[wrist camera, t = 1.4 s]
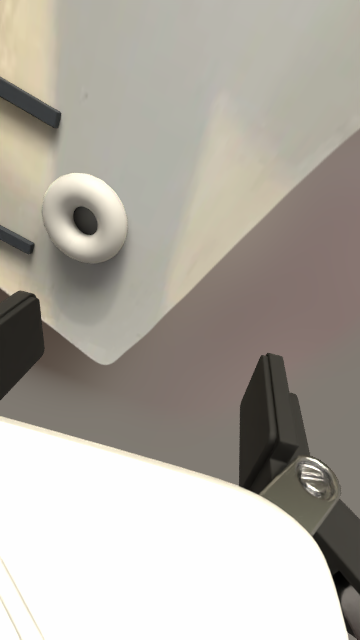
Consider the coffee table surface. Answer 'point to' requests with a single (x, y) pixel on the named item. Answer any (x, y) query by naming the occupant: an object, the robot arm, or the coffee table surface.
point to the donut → (96, 198)
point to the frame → (46, 115)
